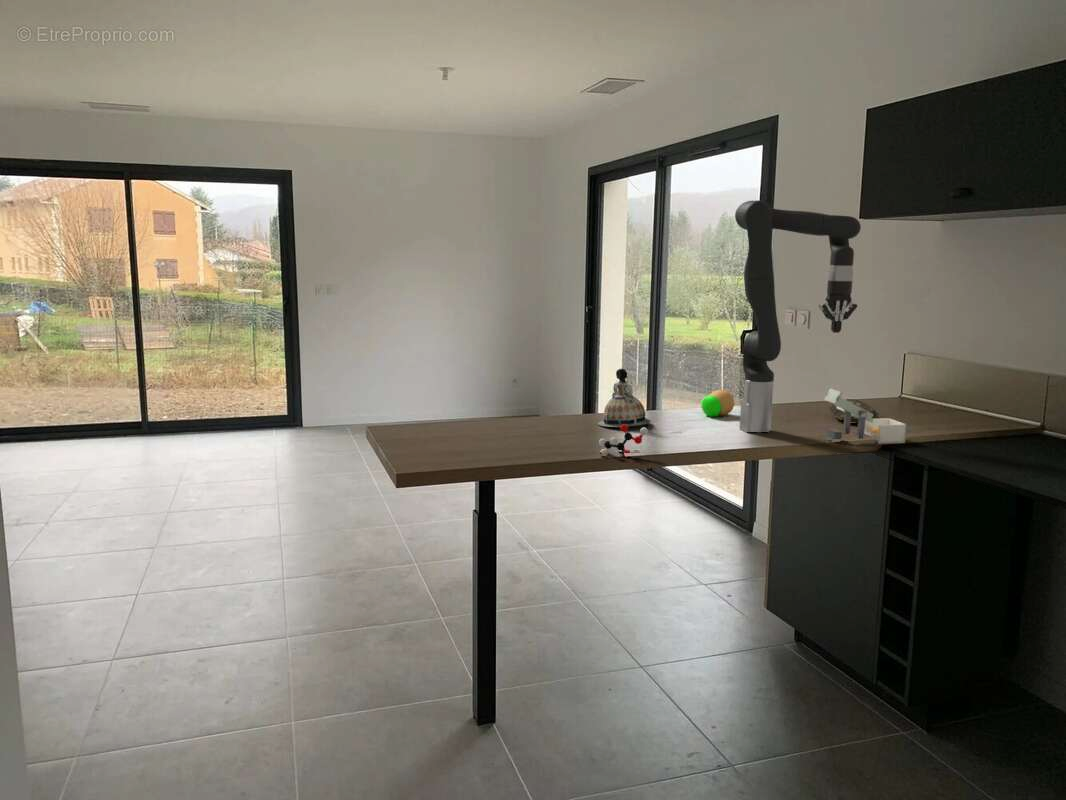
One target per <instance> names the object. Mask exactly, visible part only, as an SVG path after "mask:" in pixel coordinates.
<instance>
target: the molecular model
mask: <svg viewBox="0 0 1066 800" xmlns="http://www.w3.org/2000/svg"><path fill="white" fill-rule="evenodd" d="M619 429H620V431H621V432H623V433H624V435H623V437H624V440H623V442H619V441H618V439H617V437H614V436H613V437H611V438H610V439H609V440H606V439H605V438H600V439H599V441H598V444H599V446H601V447H604V448H602V449H601V450H599V453H600V452H601V453H606V452H607V453H608V449H609V450H610V449H611V448H612V447H613V448H616V450H617V449H618V450H622V451H623V452H624V453H630V452H631V453H641V452H640V450H638V449H635V450H634V451H631V450H629V449H625V444H627V441H632V440H633V441H634V443H635V444H637V445H638V444H641V443H642V442H643V437H644V436H645V435H647V434H648V432H649V430H648V428H647V427H641V428H640V430H639V433H640V434H639V435H636V436H635V437H633V434H632V433H630V432H628V430H629V426H627V425H626V424H623V425H621V427H619ZM618 450H617V451H618Z"/></svg>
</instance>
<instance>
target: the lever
mask: <svg viewBox="0 0 1066 800" xmlns="http://www.w3.org/2000/svg"><path fill="white" fill-rule="evenodd" d="M842 395H843V391H842V392H841V391H839V390H836V389H833V388H829V390H828V391H827V394H826V395H825V397H824V401H826V402H828V403H830V404H834V405H836V406H837V409H839V410H841V411H843V412H844V410H846V411H848V412H849V413H851V415H852V416H854V417H857V418H859V411H860V410H864V409H862V408H860V407H858V406H856V405H854V404H853V403H851V402H849V401H847V400H846V399H844V398H842ZM864 411H866V410H864ZM866 415H867V417H866V418H865V420H866V421H869V422H873V421H874V420H873V419H871V418H872V417H873V415H874V414H872V413H870V412H868V411H866Z"/></svg>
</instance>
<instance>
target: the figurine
mask: <svg viewBox="0 0 1066 800" xmlns="http://www.w3.org/2000/svg"><path fill="white" fill-rule="evenodd" d="M615 375H616V380H617V379H618V380H619V381H616V382H615V383H613V386H612V387H613V390H612V391H613V392H612V391H610V392H612V395H611V398H610V400H608V402H607V403H606V405H605V407H604V409H603V421H599V422H598V423H597V425H598V426H602V427H608V428H609V427H611V428H613V427H615V428H620V427H621V425H623V424H626V425H627V426H628V427H635V426H643V425H646V428H647V427H649V423H651V422H652V419H650V418H646V412H645V411H646V410H645V407H644V405H643V403H642V402H641V401H640V400H639V399H638V398H637V397H636V396H634V395H633V387H632V385H631V384H630V383H628V381H626V379H627V378H628V372H627V370H626V369H625V368H619V369H617V370H616V373H615Z"/></svg>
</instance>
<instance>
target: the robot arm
mask: <svg viewBox="0 0 1066 800" xmlns="http://www.w3.org/2000/svg"><path fill="white" fill-rule="evenodd" d="M734 218H735V222H736V224H737V225H738V226H739V227H740V228H741V229H744V230H745V231H746V232H747V239H748V240H747V241H748V250H747V251H748V252H747V257H746V261H745V265H744V270H743V282H744V294H745V297H746V300H747V301H748V304H749V306H750V308H751V310H752V312H753V314H754V316H755V319H756V325H757V330H754V331H753V330H752V331H751V332H749V333H748V334H747V335H746V337H745V338H744V341H743V347H742V369H743V373H744V387H743V388H744V389H743V400H742V401H741V402H740V413H739V414H740V415H739V416H740V418H739V429H740V430H742V431H744V432H745V433H747V432H768V433H770V432H771V426H772V414H773V413H772V412H773V410H772V409H773V398H774V396H773V395H774V380H775V378H774V377H775V373H774V372H773V370H772V369H771V368H770V367H769V365H768V362H772V361H775V360H776V359H777V358H778V357H779V355H780V353H781V348H782V339H781V334H780V328H779V323H778V316H777V305H776V295H775V293H776V292H775V286H776V285H775V274H774V273H775V272H774V261H773V251H772V250H773V249H772V248H773V247H772V235H773V234H772V232H773V231H772V230H782V231H787V232H793V233H797V234H803V235H809V236H810V235H812V236H819V237H820V236H821V237H822V236H823V237H824V236H827V237H828V241H829V249H830V261H829V268H828V274H827V275H828V276H827V288H826V289H827V290H826V294H827V295H826V298H825V301H824V302H822V303H819V304H818V307H819V309H820V311H821V312H822V314H823V315H824V316H825V319H827V320H830V321H831V325H830V330H831V332H832V333H835V334H836V333H837V334H839V333H840V332H841V331H842V325H843V321H845V320H848V319H849V317H850V316H852V314H853V313H854V312H855V310H857V307H858V304H857V303H854V302H853V301H852V297H851V294H852V292H853V277H854V258H855V256H854V255H855V250H854V248H853V247H851V246H850V240H851V239H853V238H856V237H857V236H858V235H859V233H860V232H861V228H862V227H861V223H860V221H859V220H858V219H857V218H855V217H853V216H848V215H838V214H837V215H836V214H835V215H834V214H832V215H831V214H826V213H820V212H815V211H814V212H813V211H806V210H789V209H778V208H774V207H773V208H772V207H771V206H770V205H769V203H768V202H765V201H763V200H759V199H758V200H757V199H755V200H747V201H745V202H744V201H743V202H742V203H741V204H740V205H738V207H737V208H736V211H735V213H734ZM769 431H770V432H769Z"/></svg>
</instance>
